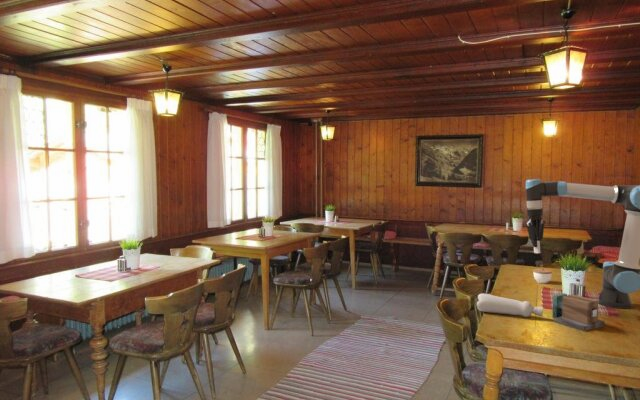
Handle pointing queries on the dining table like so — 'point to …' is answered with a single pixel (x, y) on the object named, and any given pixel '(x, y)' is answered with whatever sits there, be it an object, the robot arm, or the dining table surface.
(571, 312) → the bearing block
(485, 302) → the bottle
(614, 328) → the dining table surface
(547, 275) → the lidded jar
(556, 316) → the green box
